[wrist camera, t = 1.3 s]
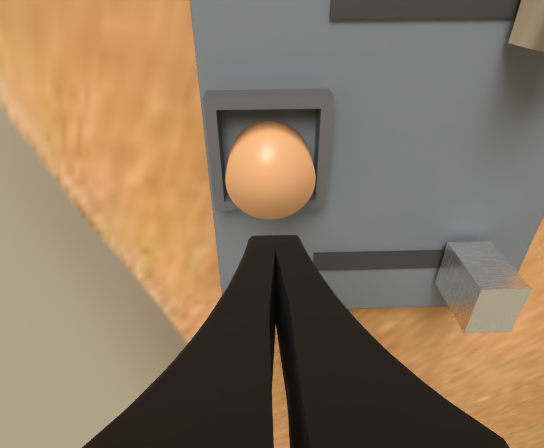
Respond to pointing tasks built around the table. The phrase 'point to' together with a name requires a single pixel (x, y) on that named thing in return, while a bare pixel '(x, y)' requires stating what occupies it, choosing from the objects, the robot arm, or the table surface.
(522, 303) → the metal slider
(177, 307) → the table surface
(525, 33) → the birch slider
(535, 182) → the control board
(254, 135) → the orange button
